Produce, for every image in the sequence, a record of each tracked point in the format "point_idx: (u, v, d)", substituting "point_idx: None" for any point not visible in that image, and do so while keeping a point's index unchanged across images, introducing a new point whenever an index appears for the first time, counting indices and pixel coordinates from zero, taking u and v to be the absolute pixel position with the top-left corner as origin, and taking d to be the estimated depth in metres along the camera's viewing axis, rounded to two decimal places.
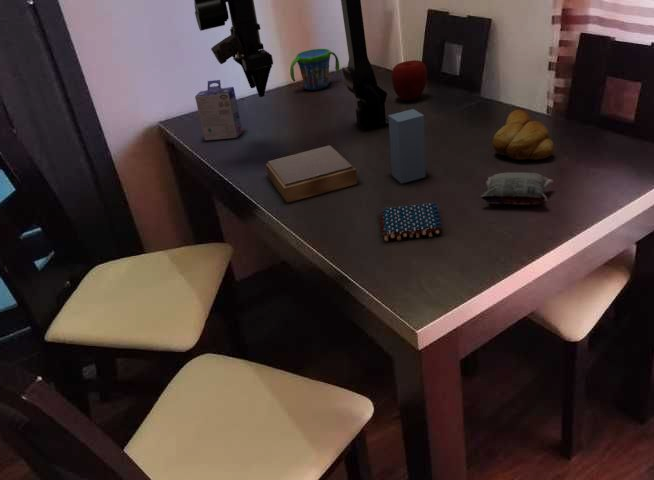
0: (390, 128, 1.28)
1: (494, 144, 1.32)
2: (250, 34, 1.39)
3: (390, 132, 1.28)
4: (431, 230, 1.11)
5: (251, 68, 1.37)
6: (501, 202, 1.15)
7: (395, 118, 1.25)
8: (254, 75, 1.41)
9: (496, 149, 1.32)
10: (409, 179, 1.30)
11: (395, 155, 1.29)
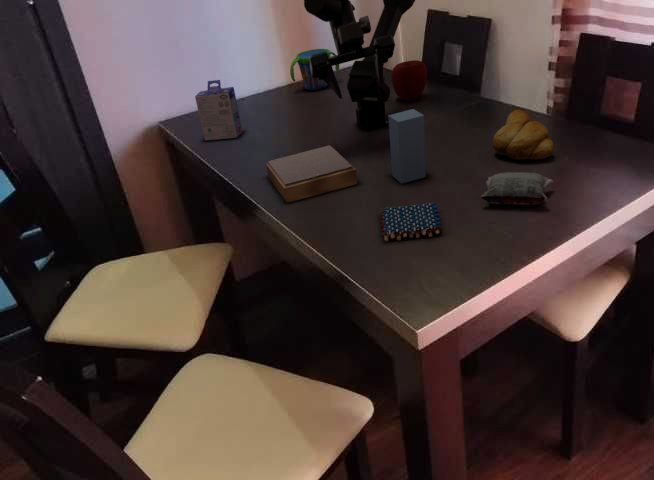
0: (390, 128, 1.28)
1: (494, 144, 1.32)
2: None
3: (390, 132, 1.28)
4: (431, 230, 1.11)
5: None
6: (501, 202, 1.15)
7: (395, 118, 1.25)
8: None
9: (496, 149, 1.32)
10: (409, 179, 1.30)
11: (395, 155, 1.29)
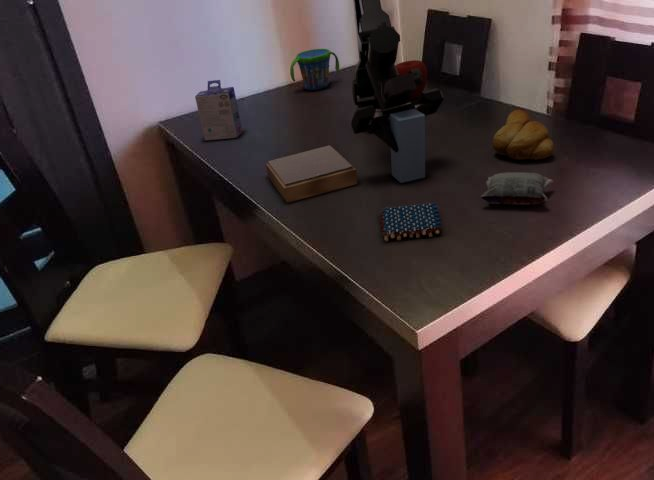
0: (391, 127, 1.28)
1: (494, 144, 1.32)
2: None
3: None
4: (431, 230, 1.11)
5: None
6: (501, 202, 1.15)
7: (396, 117, 1.24)
8: None
9: (496, 149, 1.32)
10: (409, 179, 1.30)
11: (395, 154, 1.29)
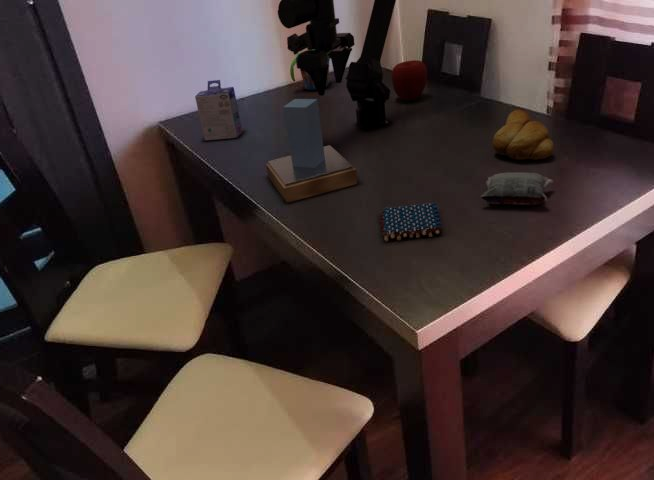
0: None
1: (494, 144, 1.32)
2: (318, 32, 1.38)
3: None
4: (431, 230, 1.11)
5: (299, 66, 1.38)
6: (501, 202, 1.15)
7: (289, 103, 1.30)
8: (310, 73, 1.41)
9: (496, 149, 1.32)
10: (299, 165, 1.36)
11: None
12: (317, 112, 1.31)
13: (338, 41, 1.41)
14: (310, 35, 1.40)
